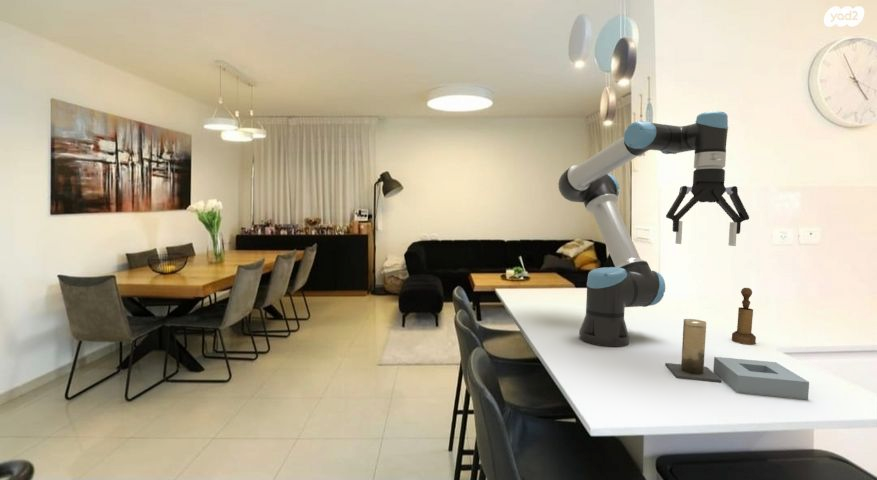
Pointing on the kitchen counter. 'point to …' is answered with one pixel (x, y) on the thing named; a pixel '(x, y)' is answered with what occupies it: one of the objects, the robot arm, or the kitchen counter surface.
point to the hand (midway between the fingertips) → (704, 244)
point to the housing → (761, 378)
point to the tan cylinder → (693, 346)
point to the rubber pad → (706, 375)
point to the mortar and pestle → (744, 321)
